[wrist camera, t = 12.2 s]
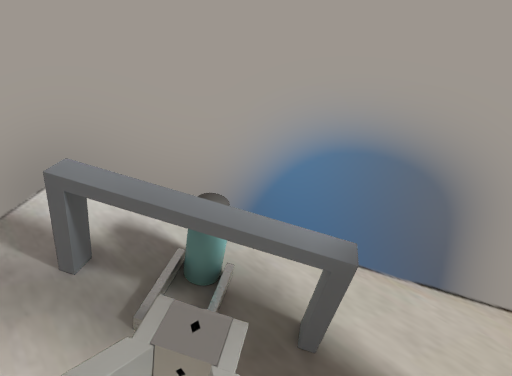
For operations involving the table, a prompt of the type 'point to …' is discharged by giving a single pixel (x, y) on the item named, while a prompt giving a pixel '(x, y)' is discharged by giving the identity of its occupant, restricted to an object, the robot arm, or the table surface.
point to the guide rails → (167, 278)
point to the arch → (201, 220)
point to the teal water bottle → (204, 251)
